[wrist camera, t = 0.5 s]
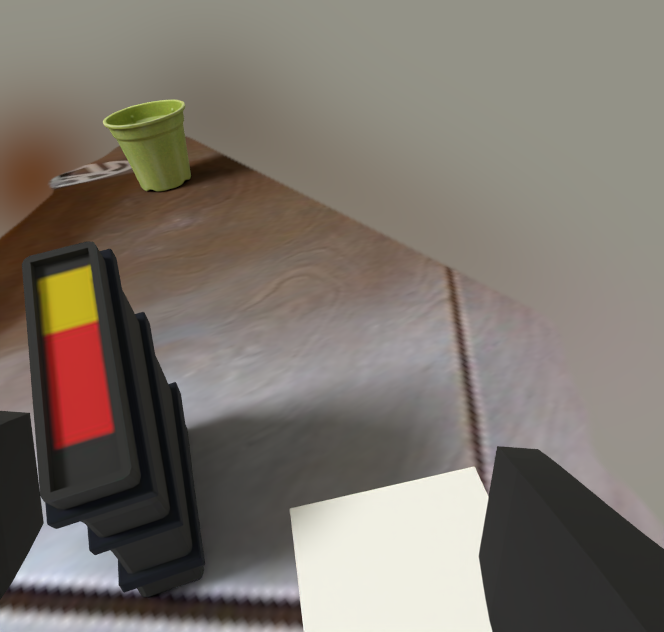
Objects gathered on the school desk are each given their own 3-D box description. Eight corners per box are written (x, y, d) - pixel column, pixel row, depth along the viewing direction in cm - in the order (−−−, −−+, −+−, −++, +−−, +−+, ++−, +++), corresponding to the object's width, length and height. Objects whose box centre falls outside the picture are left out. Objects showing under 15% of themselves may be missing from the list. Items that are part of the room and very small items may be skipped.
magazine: (181, 375, 39) (102, 231, 26) (228, 585, 32) (153, 534, 19) (124, 392, 38) (12, 254, 25) (159, 609, 32) (35, 573, 19)
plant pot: (124, 181, 76) (99, 113, 71) (195, 161, 78) (176, 93, 73) (134, 206, 68) (106, 132, 63) (212, 183, 71) (191, 109, 66)
